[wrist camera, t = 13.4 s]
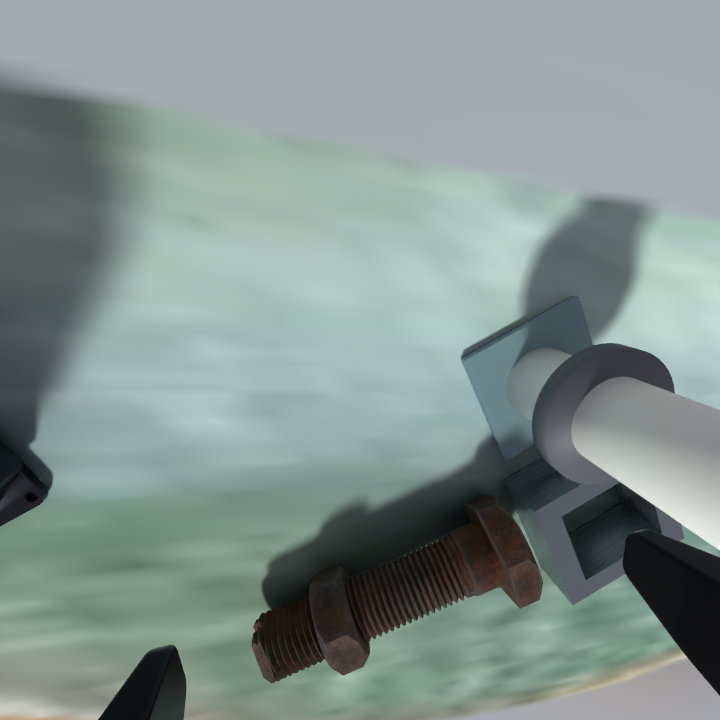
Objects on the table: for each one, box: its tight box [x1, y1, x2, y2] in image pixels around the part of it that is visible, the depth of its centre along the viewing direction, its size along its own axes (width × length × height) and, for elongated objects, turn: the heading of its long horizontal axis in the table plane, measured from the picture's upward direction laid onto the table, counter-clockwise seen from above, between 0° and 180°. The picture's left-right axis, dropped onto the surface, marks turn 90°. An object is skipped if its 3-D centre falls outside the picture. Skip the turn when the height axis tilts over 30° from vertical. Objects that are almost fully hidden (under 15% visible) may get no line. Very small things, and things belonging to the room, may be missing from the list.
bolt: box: [252, 495, 543, 683], centre depth 22 cm, size 6×5×15 cm
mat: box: [461, 296, 592, 461], centre depth 22 cm, size 7×7×1 cm
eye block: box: [504, 458, 684, 605], centre depth 24 cm, size 8×8×3 cm
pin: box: [507, 343, 720, 550], centre depth 16 cm, size 6×6×13 cm
